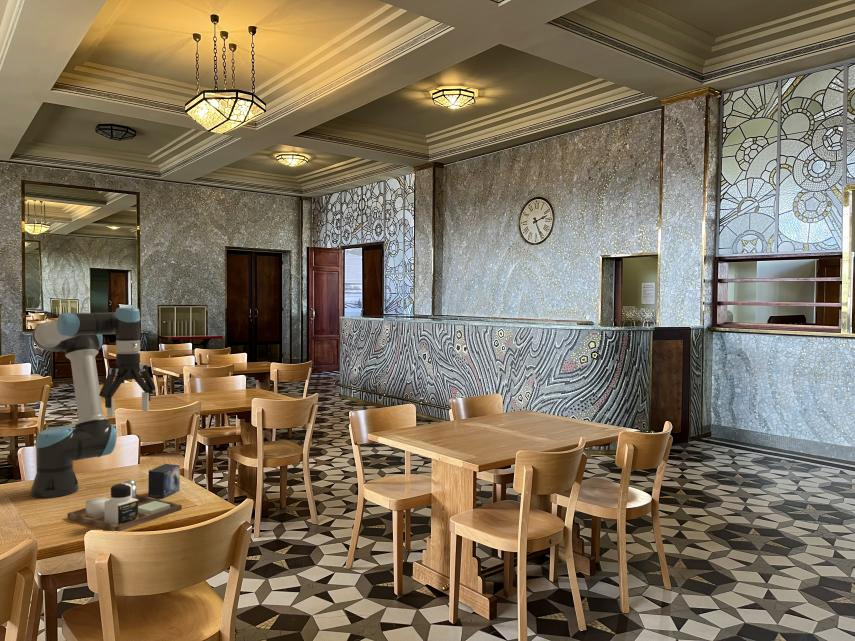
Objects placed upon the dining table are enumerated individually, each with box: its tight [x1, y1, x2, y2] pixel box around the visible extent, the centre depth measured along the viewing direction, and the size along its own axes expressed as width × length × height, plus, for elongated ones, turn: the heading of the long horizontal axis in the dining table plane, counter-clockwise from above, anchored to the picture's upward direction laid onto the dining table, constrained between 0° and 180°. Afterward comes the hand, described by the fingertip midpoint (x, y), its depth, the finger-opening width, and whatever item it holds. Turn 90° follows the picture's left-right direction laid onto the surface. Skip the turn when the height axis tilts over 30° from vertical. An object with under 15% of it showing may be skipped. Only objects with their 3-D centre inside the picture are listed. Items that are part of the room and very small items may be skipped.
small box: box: [147, 463, 181, 500], centre depth 238 cm, size 11×6×10 cm, turn 168°
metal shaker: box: [123, 479, 137, 499], centre depth 224 cm, size 4×4×9 cm
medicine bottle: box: [105, 482, 138, 526], centre depth 208 cm, size 7×7×12 cm
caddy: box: [67, 493, 183, 532], centre depth 217 cm, size 24×24×2 cm
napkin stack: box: [138, 501, 170, 515], centre depth 219 cm, size 8×8×2 cm
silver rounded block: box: [85, 496, 111, 519], centre depth 214 cm, size 7×7×5 cm
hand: (128, 414), depth 227 cm, fingers open, 13 cm apart
